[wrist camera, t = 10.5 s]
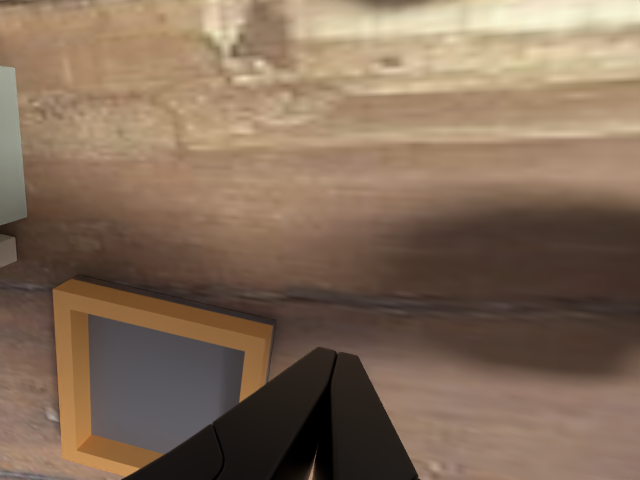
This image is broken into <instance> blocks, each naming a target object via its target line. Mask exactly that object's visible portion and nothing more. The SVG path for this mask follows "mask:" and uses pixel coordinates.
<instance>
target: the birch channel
mask: <svg viewBox="0 0 640 480" xmlns="http://www.w3.org/2000/svg"><path fill="white" fill-rule="evenodd" d="M15 261H17V252H16V240H15V237H12V236H8V235H3V234H0V268H1V267H4V266H6V265H8V264H11V263H13V262H15Z"/></svg>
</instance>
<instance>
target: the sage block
mask: <svg viewBox="0 0 640 480" xmlns="http://www.w3.org/2000/svg"><path fill="white" fill-rule="evenodd" d="M26 217H27V205H26V193H25V182H24V170H23V159H22V147H21V135H20V124H19V112H18V100H17V89H16V77H15V68H14V67H7V66H1V65H0V225H4V224H7V223H10V222H13V221H16V220H20V219H23V218H26Z"/></svg>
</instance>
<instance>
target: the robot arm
mask: <svg viewBox="0 0 640 480" xmlns="http://www.w3.org/2000/svg"><path fill="white" fill-rule="evenodd" d="M317 447H318V448H317ZM316 451H317V453H316ZM315 455H316V458H315ZM314 459H315V463H314ZM313 463H314V471H313V479H312V480H420V479H419V478H418V474H417V472H416V470H415V468H414V466H413V464H412V462H411V460H410V458H409V456H408V454H407V452H406V450H405V448H404V446H403V444H402V442H401V440H400V438H399V436H398V434H397V432H396V430H395V428H394V426H393V424H392V423H391V421H390V419H389V417H388V415H387V413H386V411H385V409H384V407H383V405H382V403H381V401H380V399H379V397H378V395H377V393H376V391H375V389H374V387H373V385H372V383H371V381H370V379H369V377H368V375H367V373H366V371H365V369H364V367H363V365H362V363H361V361H360V359H359V357H358V356H356V355H352V354H348V353H344V352H339V353H338V354H337V352H336V351H334V350H331V349H327V348H322V347H317V348H315V349H314V350H313V351H311V352H310V353H308V354H307V355H306V356H304V357H303V358H301V359H300V360H299V361H297V362H296V363H294V364H293V365H292V366H290V367H289V368H287V369H286V370H285V371H283V372H282V373H280V374H279V375H278V376H276V377H275V378H273V379H272V380H271V381H269V382H268V383H266V384H265V385H264V386H262V387H261V388H259V389H258V390H257V391H255V392H254V393H252V394H251V395H250V396H248V397H247V398H245V399H244V400H243V401H241V402H240V403H238V404H237V405H236V406H234V407H233V408H231V409H230V410H229V411H227V412H226V413H224V414H223V415H222V416H220V417H219V418H217V419H216V420H215V421H213V422H212V424H209V425H207V426H206V427H205V428H203V429H202V430H200V431H199V432H198V433H196V434H195V435H193V436H192V437H190V438H189V439H187V440H186V441H184V442H183V443H181V444H180V445H178V446H177V447H175V448H174V449H172V450H171V451H169V452H168V453H166V454H164V455H163V456H161V457H159V458H158V459H156V460H154V461H153V462H151V463H149V464H147V465H146V466H144V467H142V468H141V469H139V470H137V471H136V472H134V473H132V474H130V475H128V476H127V477H125V478H123V479H121V480H308V479H309V476H310V473H311V470H312V466H313Z"/></svg>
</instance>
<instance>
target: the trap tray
mask: <svg viewBox="0 0 640 480" xmlns="http://www.w3.org/2000/svg"><path fill="white" fill-rule="evenodd" d="M53 305H54V322H55V339H56V356H57V374H58V391H59V408H60V425H61V443H62V459H65V460H69V461H72V462H76V463H79V464H83V465H86V466H90V467H93V468H97V469H100V470H104V471H107V472H111V473H114V474H118V475H121V476H125V477H127V476H128V475H130V474H132V473H134V472H136V471H137V470H139V469H141V468H142V467H144V466H146V465H147V464H149V463H151V462H153V461H154V460H156V459H158V458H159V457H161V456H163V455H164V454H166V453H168V452H169V451H171V450H172V449H174V448H175V447H177V446H178V445H180V444H181V443H183V442H184V441H186V440H187V439H189V438H190V437H192V436H193V435H195V434H196V433H198V432H199V431H200V430H202V429H203V428H205V427H206V426H207V425H209V424H212V422H213V421H215V420H216V419H217V418H219V417H220V416H222V415H223V414H224V413H226V412H227V411H229V410H230V409H231V408H233V407H234V406H236V405H237V404H238V403H240V402H241V401H243V400H244V399H245V398H247V397H248V396H250V395H251V394H252V393H254V392H255V391H257V390H258V389H259V388H261V387H262V386H264V385H265V384H266V383H268V376H269V369H270V362H271V354H272V347H273V340H274V333H275V325H276V320H272V319H268V318H263V317H259V316H255V315H250V314H246V313H242V312H237V311H233V310H229V309H224V308H220V307H216V306H211V305H207V304H203V303H198V302H194V301H190V300H185V299H181V298H177V297H172V296H168V295H164V294H159V293H155V292H151V291H146V290H142V289H138V288H133V287H129V286H124V285H120V284H116V283H111V282H107V281H103V280H98V279H94V278H90V277H85V276H81V275H77V276H76V277H74V278H72V279H70V280H68V281H66V282H64V283H63V284H61V285H59V286H57V287H55V288H53Z"/></svg>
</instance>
